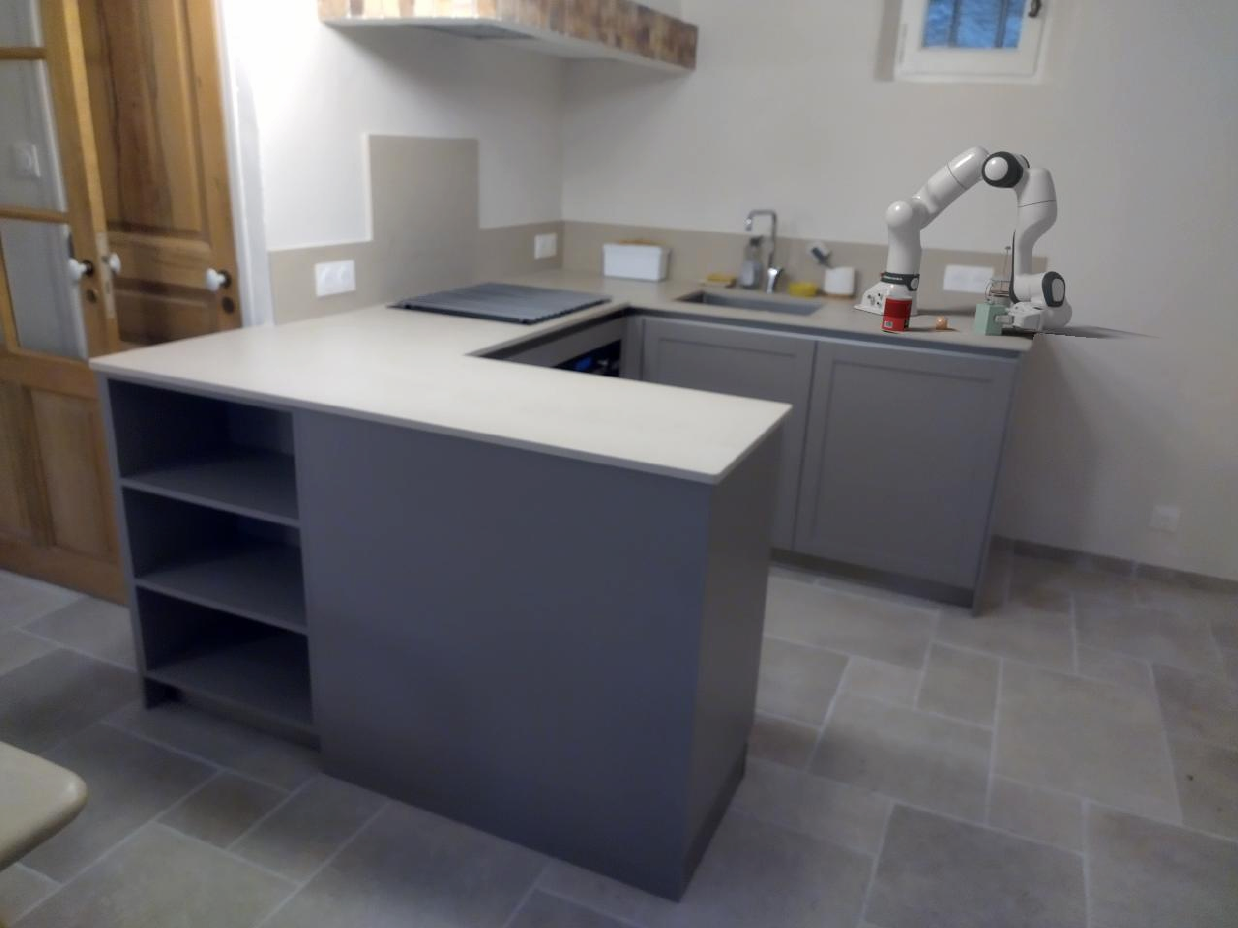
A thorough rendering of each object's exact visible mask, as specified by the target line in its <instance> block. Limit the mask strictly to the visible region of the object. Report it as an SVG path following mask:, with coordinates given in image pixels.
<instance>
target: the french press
mask: <svg viewBox="0 0 1238 928" xmlns="http://www.w3.org/2000/svg"><path fill="white" fill-rule="evenodd" d="M1004 250H1006V255H1005V263H1004V266H1003V273H1002V274H997V275H995V276H992V277H990V278H989V280H990V282H989V283H988V284H987V286H986V288H985V291H984V296H985V297H984V298H985V301H986V303H989V301H995V304H998V305H1002V306H1006V308H1010V309H1011V304H1012V301H1011V299H1010V297H1009V290H1003V289H1002V286H1003V283H1007V284H1008V283H1009V284H1010V281H1011V276H1009V275H1006V274H1005V269H1006V265H1007V259H1008V258H1007V257H1008V251H1012V246H1010V245H1007V246H1005V248H1004ZM991 281H992V282H991ZM993 282H994V283H993ZM997 282H999V283H1001V284H1000V289H992V287H997V284H998V283H997ZM990 284H991V286H990V288H989V292H988V294H987V289H988V287H989V285H990ZM994 284H995V285H994ZM991 293H992V294H993V295H992V294H991Z"/></svg>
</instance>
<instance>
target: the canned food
mask: <svg viewBox="0 0 1238 928" xmlns="http://www.w3.org/2000/svg"><path fill="white" fill-rule="evenodd" d="M912 301H913V297H910V296H905V295H887V296H886V300H885V308H884V315H882V316H883V317H882V324H881V329H882V330H881V331H882V332H884V333H887V334H888V333H889V334H896V335H897V334H898V335H900V333H902V332H908V331H909V327H910V320H911V316H910V315H911V308H912ZM898 332H900V333H898Z"/></svg>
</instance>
